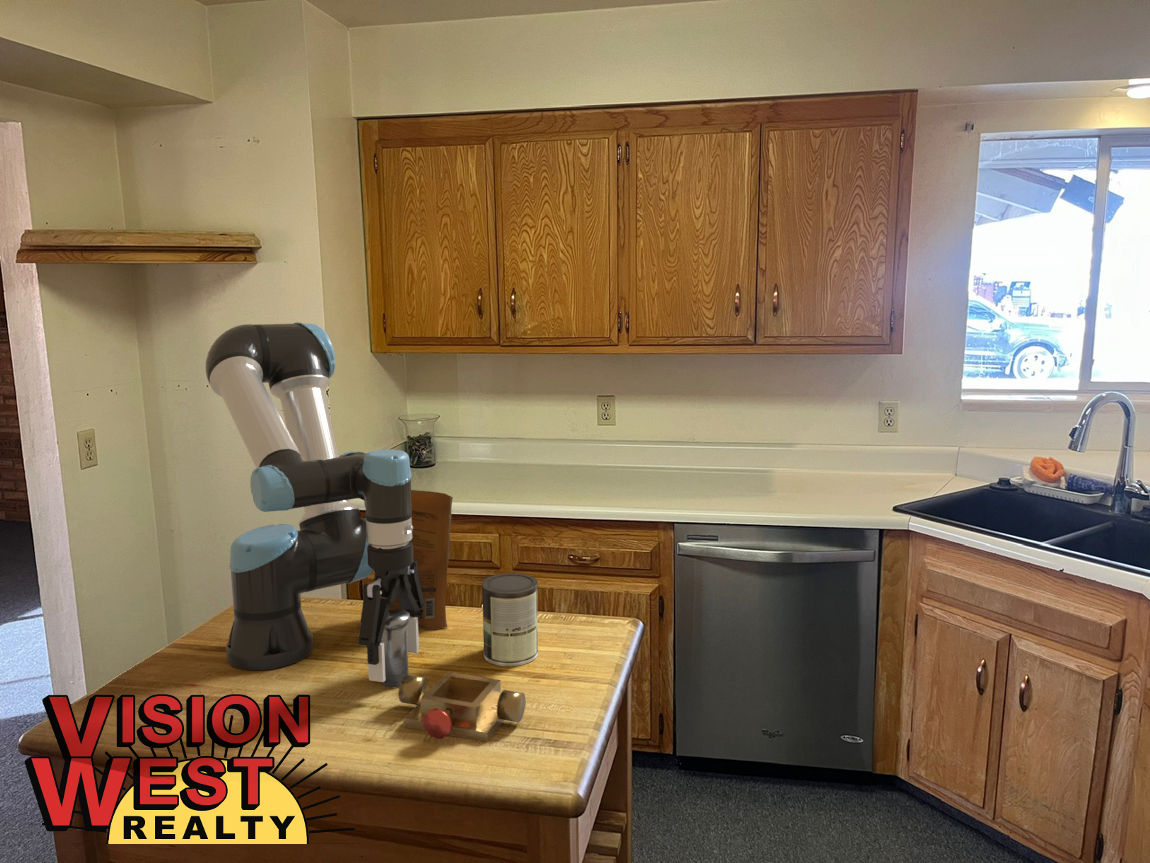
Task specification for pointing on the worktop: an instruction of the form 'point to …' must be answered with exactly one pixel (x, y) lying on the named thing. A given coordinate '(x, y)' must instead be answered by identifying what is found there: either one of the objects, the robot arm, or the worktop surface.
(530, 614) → the coffee can
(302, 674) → the worktop surface
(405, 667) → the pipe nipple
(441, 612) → the pancake mix bag
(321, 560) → the robot arm
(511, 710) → the valve body
